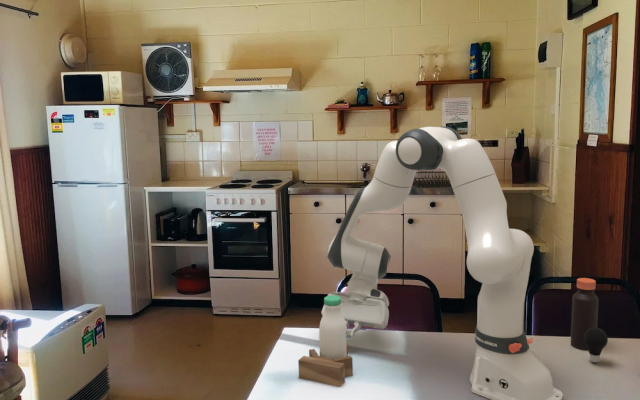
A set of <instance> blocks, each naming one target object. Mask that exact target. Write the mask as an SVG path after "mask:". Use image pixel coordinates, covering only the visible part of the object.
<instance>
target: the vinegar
mask: <svg viewBox="0 0 640 400" xmlns="http://www.w3.org/2000/svg"><path fill="white" fill-rule="evenodd" d="M596 281H597V280H595V279H594V278H588V277H579V278H577V279H576V289H577V291H576V292H575V293H573V295H572V302H571V303H572V304H571V305H572V306H571V322H570V324H571V326H570V345H571V346H572V347H573V348H575V349H578V350H581V351H589V349H588V346H587V345H586V343H585V341H584V333H585V331H586V330H587V329H589V328H592V327H597V328H598V320H599V319H598V318H599V317H598V316H599V296H597V294H596V293H595V291H596V285H597V284H596V283H597V282H596Z"/></svg>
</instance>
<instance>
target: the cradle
mask: <svg viewBox="0 0 640 400" xmlns="http://www.w3.org/2000/svg"><path fill="white" fill-rule="evenodd" d="M308 354H309V355H308V356H306V355H303V356H301V357H300V358H299V359H298V378H299V379H301V380H305V381H311V382H316V383H321V384H326V385H330V386H334V387H342V385H344V384H345V382H346V378H347V377H352V376H353V375H354V372H353V371H354V370H353V357H352V356H351V355H348V356H345V357H340V358H335V359H332V358H327V357H322V356H320V354H318V352H317V350H316V349H315V348H313V349H308Z"/></svg>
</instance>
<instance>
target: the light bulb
mask: <svg viewBox="0 0 640 400" xmlns="http://www.w3.org/2000/svg"><path fill="white" fill-rule="evenodd" d="M584 341H585V343H586V345H587V346H588V349H589V350H588V353H589V360H590V361H591V363H593V364H597V363H599V362H600V358H601V354H602V351H603V350H604V348H605V347H606V346H607V344H608V341H609V339H608V335H607V333H606V332H605V331H604V330H603V329H602V328H599V327H598V326H597V327H592V328H589V329H587V330H586V331H585V333H584Z"/></svg>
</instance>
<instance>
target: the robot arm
mask: <svg viewBox="0 0 640 400" xmlns="http://www.w3.org/2000/svg"><path fill="white" fill-rule="evenodd" d="M437 169H440V170H442V171H444V173H445V174H446V175H447V177H448V180H449V183H450V185H451V188H452V190H453V194H454V197H455V199H456V202H457V204H458V207H459V210H460V212H461V216H462V219H463V220H462V221H463V225H464V230H465V236H466V237H465V238H466V245H467V256H466V267H467V270H468V272H469V275H470V276H471V277H472V278H473V279H474V280H475V281H477V282H479V283H481V287H480V291H479V293H478V295H477V311H476V312H477V315H476V316H477V318H476V319H477V321H476V322H477V323H476V326H475V327H474V328H475V331H474V342H475V343H476V345H475V355H474V360H473V366H472V370H471V372H470V376H469V382H470V384H471V390H470V391H471V392H472V393H474V394H476V395H478V396H481V397H484V398H486V399H489V400H563V399H564V395H563V394H564V393H563V392H562V391H561V390H559V389H558V388H556V387H554V384H553V383H554V382H553V376H552V373H551V371H550V369H549V368H548V367H547V366H546V365H545V364H544V363H543V362H542V361H541V360H540V358H539V357H537V355H536V354H535V353H534V351H532V350H531V349H530V345H529V344H532V343H533V339H534V338H533V337H531V338H529V339H527V338H528V337H527V334H526V332H525V330H524V316H525V299H526V292H527V287H528V285H529V284H528V283H529V277H530V272H531V263H532V258H533V256H534V251H535V247H534V242H533V240H532V237H530V235H529V234H528V233H526V232H525V231H523V230H521V229H517V228H510V227H509V221H508V214H507V213H508V211H507V210H508V209H507V208H508V203H507V200H506V197H505V195H504V192H503V190H502V187H501V184H500V182H499V179H498V177H497V174H496V171H495V169H494V167H493V164H492V162H491V160H490V158H489V156H488V154H487V153H486V151H485V149H484V148H483V146H482V145H481V143H480V142H479V141H478V140H477V139H475V138H468V137H467V138H462V136H461V135H460V133H459V132H458V131H457V130H455V129H454V128H451V127H449V126H443V125H442V126H423V127H419V128H413V129H409V130H407V131H406V132H403V134H402V135H400V136H399V138H398V140H391V141H390V142H389V143H387V144H386V145H385V146H384V149H383V150H382V152H381V154H380V156H379V159H378V161H377V164H376V167H375V170H374V174H373V177H372V179H371V181H370V182H369V183H368V185H366V186H365V187H360V188H359V190H358V191H356V194H355V195H354V196H353V199H352V201H351V203H350V204H349V207H348V209H347V211H346V212H345V215H344V218H343V220H342V222H341V223H340V226H339V229H338V230H337V233H336V234H335V235H334V237H333V238H332V239H331V242H330V243H329V245H328V248H327V256H326V257H327V259H328V261H329V263H330V264H331V265H332V267H333V268H338V269H342V270H343V269H344V270H347V271H352V275H351V278H350V279H349V281H348V285H347V288H346V291H345V292H344V291H343V292H342V291H340V292H339V291H335V290H333V291H332V292H329V293H328V294H327V296H331V295H335V296H339V297H340V298H341V306H340V309H341V312H342V315H343V317H344V319H345V321H346V325H347V339H349V338H350V339H354V338H355V335H356V334H357V333H358V332H359V331H360V330H361V328H362V327H367V328H373V329H374V328H375V329H380V330H384V329H385V328H387V326H388V322H389V317H390V311H389V305H390V301H389V298H388V296H387V295H386V294H385V293H384V292H383V291H382V290H379V289H378V282H379V281H380V280H381V279H383V278H384V277H386V275H387V272H388V266H389V264H390V262H391V254H390V253H389V250H388V249H387V248H386V247H385V246H384V245H380V244H378V243H374V242H369V241H366V240H363V239H359V238H356V237H353V235H352V233H353V231H354V229H355V227H356V225H357V223H358V221H359V219H360V217H362V215H364V214H366V213H372V212H381V211H382V212H385V211H391V210H394V209H396V208H398V207H401V206H403V204H405V202H406V201H407V200H408V197H409V195H410V193H411V190H412V187H413V183H414V180H415V176H416V174H417V172H418V171H420V172H421V171H432V170H433V171H434V170H437ZM324 311H325V306H324V305H323V306H322V310H321V311H320V313H321V315H322V316H321V317H323V314H324ZM350 325H354V327H353V328H352V329H351V330H349V329H348V328H349V327H350Z"/></svg>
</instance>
